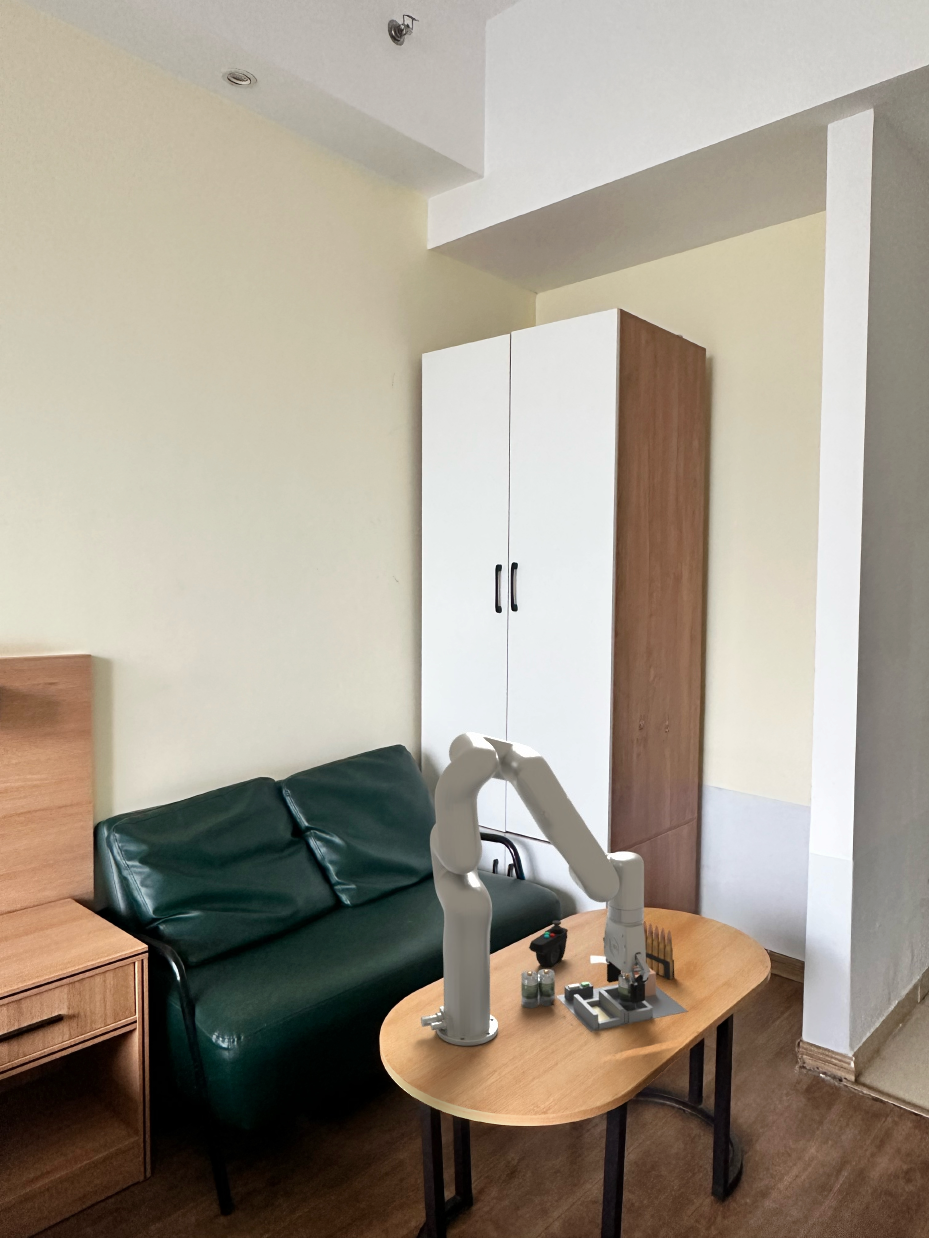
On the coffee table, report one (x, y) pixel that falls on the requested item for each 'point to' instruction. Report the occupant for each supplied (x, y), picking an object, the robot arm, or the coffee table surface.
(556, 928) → the controller
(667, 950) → the ammunition clip
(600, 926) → the coffee table surface
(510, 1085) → the coffee table surface
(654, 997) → the board
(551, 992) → the cell
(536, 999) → the cell
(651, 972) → the pink hollow box
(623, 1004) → the cell
